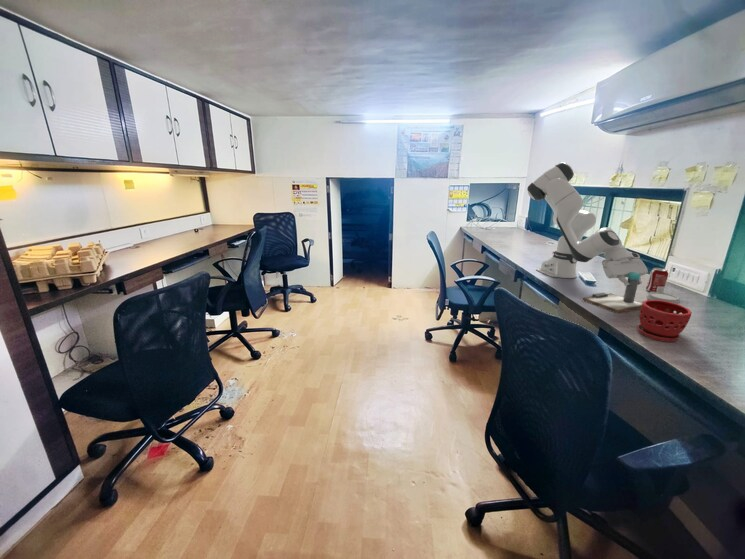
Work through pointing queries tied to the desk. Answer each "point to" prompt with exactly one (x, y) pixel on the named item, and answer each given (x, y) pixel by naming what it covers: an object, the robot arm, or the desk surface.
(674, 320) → the plant pot
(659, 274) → the soda can
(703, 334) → the desk surface
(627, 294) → the ball
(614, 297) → the clipboard
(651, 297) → the disposable coffee cup
